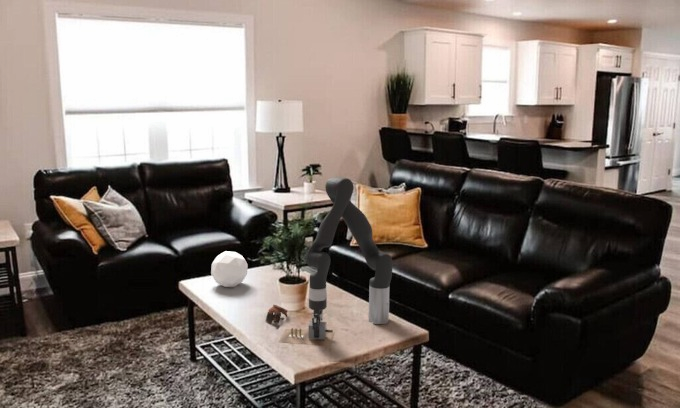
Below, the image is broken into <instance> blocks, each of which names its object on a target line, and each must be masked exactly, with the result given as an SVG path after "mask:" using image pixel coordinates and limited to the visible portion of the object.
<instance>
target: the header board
mask: <svg viewBox="0 0 680 408" xmlns="http://www.w3.org/2000/svg"><path fill="white" fill-rule="evenodd" d="M334 336H335V331H333V333H331V332H326V338H325V340H321V339H309V329H302V328H299V329H298V328H297V327H296V328H292V327H291V328H284V331H283V333H282V334H281V337H280V338H279V340H278V343H279V344H295V345H307V346H308V345H309V346H310V345H311V346H324V347H325V346H326V347H331V345H332V341H333V339H334Z"/></svg>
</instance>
